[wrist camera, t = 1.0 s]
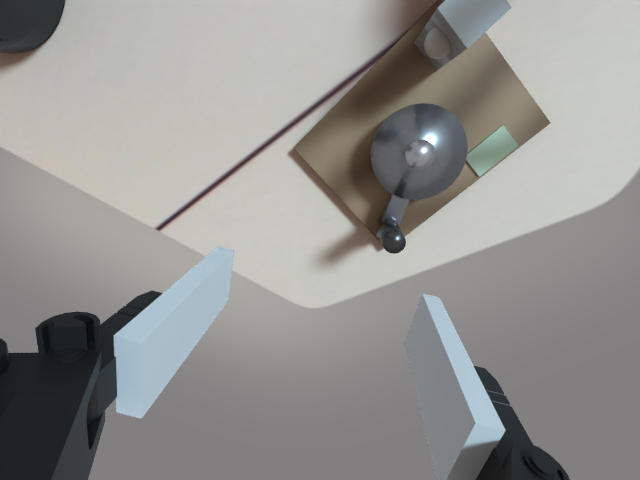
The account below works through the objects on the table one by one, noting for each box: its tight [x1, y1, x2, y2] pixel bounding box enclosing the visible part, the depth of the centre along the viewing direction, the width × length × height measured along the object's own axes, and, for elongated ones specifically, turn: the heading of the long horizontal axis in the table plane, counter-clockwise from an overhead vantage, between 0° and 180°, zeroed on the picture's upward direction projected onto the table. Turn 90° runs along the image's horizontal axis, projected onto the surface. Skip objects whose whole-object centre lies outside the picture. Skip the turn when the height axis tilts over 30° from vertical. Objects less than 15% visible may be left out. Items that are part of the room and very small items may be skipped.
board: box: [294, 0, 550, 245], centre depth 25 cm, size 14×18×9 cm
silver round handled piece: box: [370, 103, 468, 253], centre depth 27 cm, size 12×8×6 cm, turn 163°
